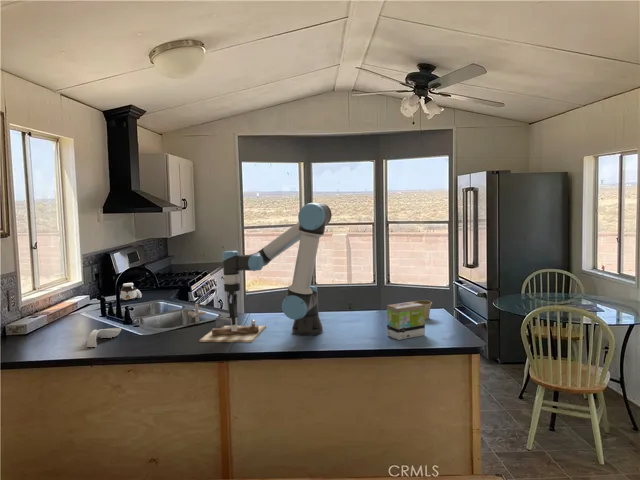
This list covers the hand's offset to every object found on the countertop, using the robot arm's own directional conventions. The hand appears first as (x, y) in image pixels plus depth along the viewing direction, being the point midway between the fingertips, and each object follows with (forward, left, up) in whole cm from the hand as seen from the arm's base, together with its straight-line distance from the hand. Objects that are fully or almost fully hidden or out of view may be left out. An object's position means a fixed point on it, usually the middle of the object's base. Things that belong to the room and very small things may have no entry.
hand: (234, 330), depth 230 cm
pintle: (-8, -5, +1) cm, 10 cm away
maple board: (+2, -5, -3) cm, 6 cm away
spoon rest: (+65, +6, -4) cm, 66 cm away
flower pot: (-92, -36, -3) cm, 99 cm away
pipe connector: (+31, -28, -3) cm, 41 cm away
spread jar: (+107, -92, -3) cm, 141 cm away
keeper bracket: (+9, -13, -2) cm, 16 cm away
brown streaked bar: (0, -2, -2) cm, 3 cm away
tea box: (-82, -4, -3) cm, 82 cm away
